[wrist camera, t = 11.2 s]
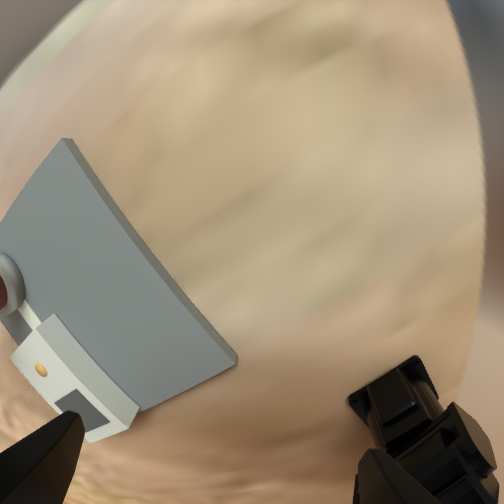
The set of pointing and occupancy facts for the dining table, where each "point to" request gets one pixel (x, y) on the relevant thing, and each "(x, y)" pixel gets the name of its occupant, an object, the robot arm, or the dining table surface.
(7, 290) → the joystick
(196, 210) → the dining table surface
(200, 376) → the subfloor panel
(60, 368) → the block
